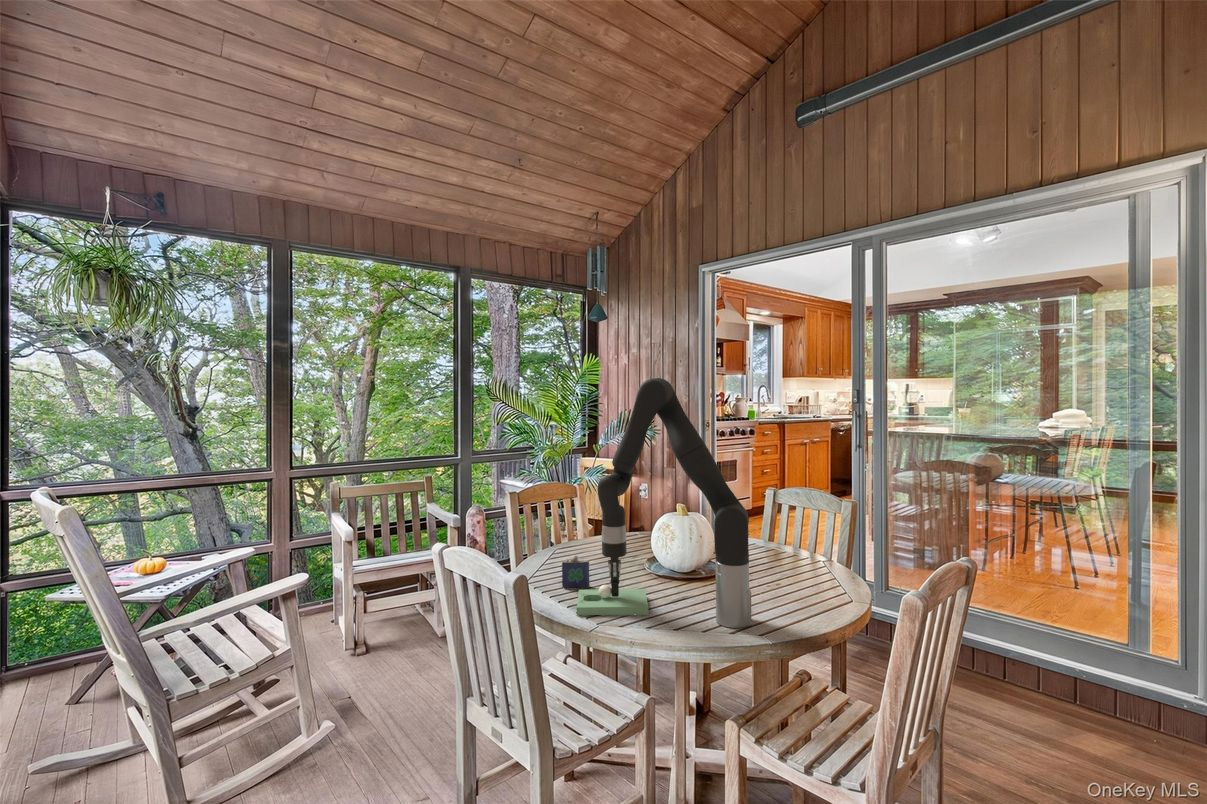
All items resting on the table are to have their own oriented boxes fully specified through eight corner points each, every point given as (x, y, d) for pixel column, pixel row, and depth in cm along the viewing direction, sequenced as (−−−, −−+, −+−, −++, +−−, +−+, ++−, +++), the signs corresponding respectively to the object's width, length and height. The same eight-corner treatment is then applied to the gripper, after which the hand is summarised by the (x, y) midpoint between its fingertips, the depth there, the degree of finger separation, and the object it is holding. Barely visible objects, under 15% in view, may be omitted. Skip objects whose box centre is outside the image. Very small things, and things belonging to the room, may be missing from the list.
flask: (589, 585, 191) (588, 554, 191) (589, 588, 189) (589, 556, 188) (562, 586, 191) (561, 555, 190) (562, 589, 188) (561, 557, 188)
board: (644, 596, 180) (644, 588, 180) (648, 615, 165) (648, 606, 165) (579, 597, 180) (578, 589, 180) (576, 615, 165) (576, 607, 165)
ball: (609, 581, 174) (596, 584, 174) (610, 585, 170) (597, 589, 170) (612, 593, 175) (600, 597, 174) (613, 598, 171) (600, 601, 170)
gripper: (627, 544, 166) (628, 603, 166) (625, 533, 179) (626, 588, 179) (601, 545, 166) (602, 603, 166) (602, 534, 179) (603, 588, 179)
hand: (615, 595), depth 173 cm, fingers closed
